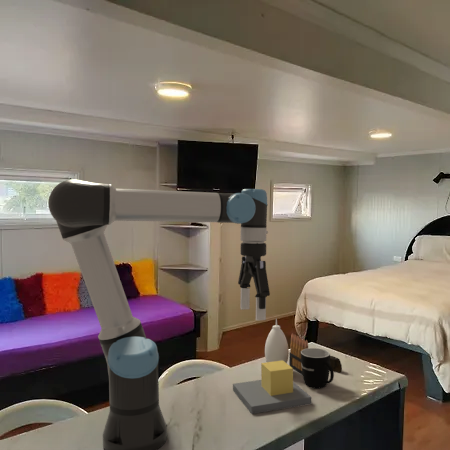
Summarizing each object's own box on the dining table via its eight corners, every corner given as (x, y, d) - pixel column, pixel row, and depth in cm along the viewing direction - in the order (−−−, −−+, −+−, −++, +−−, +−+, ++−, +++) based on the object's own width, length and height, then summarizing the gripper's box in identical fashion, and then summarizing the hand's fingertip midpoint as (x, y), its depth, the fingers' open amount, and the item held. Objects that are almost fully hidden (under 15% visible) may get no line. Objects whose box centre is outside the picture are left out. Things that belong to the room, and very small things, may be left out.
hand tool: (296, 359, 158) (296, 346, 158) (304, 356, 161) (304, 344, 160) (335, 375, 142) (335, 361, 142) (344, 372, 145) (344, 359, 144)
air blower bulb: (292, 370, 147) (292, 317, 146) (280, 377, 141) (279, 322, 141) (274, 364, 152) (273, 314, 152) (260, 371, 146) (260, 318, 146)
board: (251, 414, 116) (251, 390, 116) (232, 390, 132) (232, 369, 131) (311, 404, 122) (311, 381, 121) (286, 382, 137) (286, 362, 137)
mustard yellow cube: (270, 395, 123) (270, 371, 123) (261, 386, 129) (261, 363, 129) (293, 392, 125) (292, 368, 125) (283, 383, 132) (282, 360, 131)
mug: (295, 382, 136) (294, 351, 136) (316, 376, 141) (316, 346, 141) (321, 396, 126) (321, 362, 126) (343, 389, 131) (343, 356, 130)
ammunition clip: (310, 376, 141) (310, 340, 141) (305, 377, 141) (305, 341, 140) (293, 365, 151) (293, 331, 151) (289, 366, 151) (288, 332, 150)
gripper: (282, 245, 115) (281, 324, 116) (251, 239, 139) (250, 304, 140) (256, 245, 113) (255, 325, 114) (228, 239, 137) (228, 305, 138)
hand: (252, 314), depth 127 cm, fingers open, 13 cm apart
